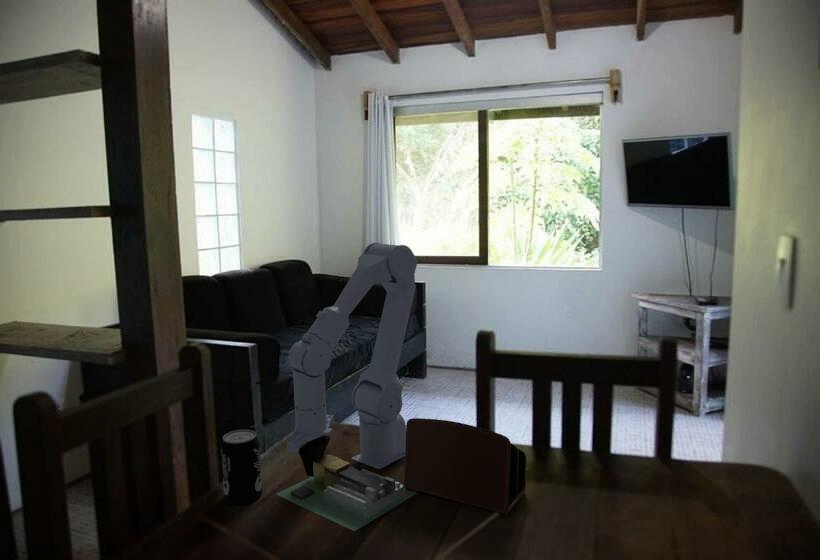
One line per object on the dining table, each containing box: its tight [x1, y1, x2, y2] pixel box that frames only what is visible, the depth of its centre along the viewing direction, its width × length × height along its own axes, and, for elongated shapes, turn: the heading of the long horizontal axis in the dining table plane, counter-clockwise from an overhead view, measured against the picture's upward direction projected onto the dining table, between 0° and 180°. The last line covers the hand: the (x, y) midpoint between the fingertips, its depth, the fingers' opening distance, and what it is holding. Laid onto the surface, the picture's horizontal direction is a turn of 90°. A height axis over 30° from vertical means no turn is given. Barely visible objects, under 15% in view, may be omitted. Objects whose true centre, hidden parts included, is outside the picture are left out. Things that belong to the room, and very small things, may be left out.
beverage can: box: [220, 429, 263, 506], centre depth 111 cm, size 7×7×12 cm
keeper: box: [313, 454, 351, 491], centre depth 114 cm, size 4×6×5 cm
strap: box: [328, 466, 388, 493], centre depth 110 cm, size 3×12×1 cm, turn 50°
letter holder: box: [403, 417, 527, 516], centre depth 112 cm, size 10×20×14 cm, turn 61°
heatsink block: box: [323, 468, 405, 522], centre depth 109 cm, size 10×10×4 cm
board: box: [275, 465, 418, 532], centre depth 112 cm, size 16×20×1 cm
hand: (313, 474), depth 117 cm, fingers closed
